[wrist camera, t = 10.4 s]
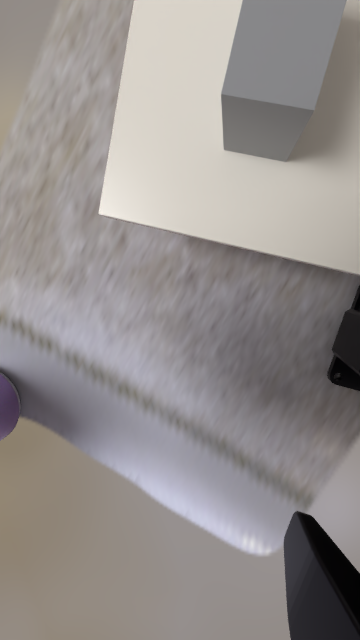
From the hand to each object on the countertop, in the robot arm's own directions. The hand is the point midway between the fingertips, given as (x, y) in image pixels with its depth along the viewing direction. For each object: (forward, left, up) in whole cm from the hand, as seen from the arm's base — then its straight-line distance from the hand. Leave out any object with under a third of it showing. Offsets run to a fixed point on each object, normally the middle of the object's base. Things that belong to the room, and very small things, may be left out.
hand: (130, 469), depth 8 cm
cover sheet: (-1, -13, -7) cm, 15 cm away
